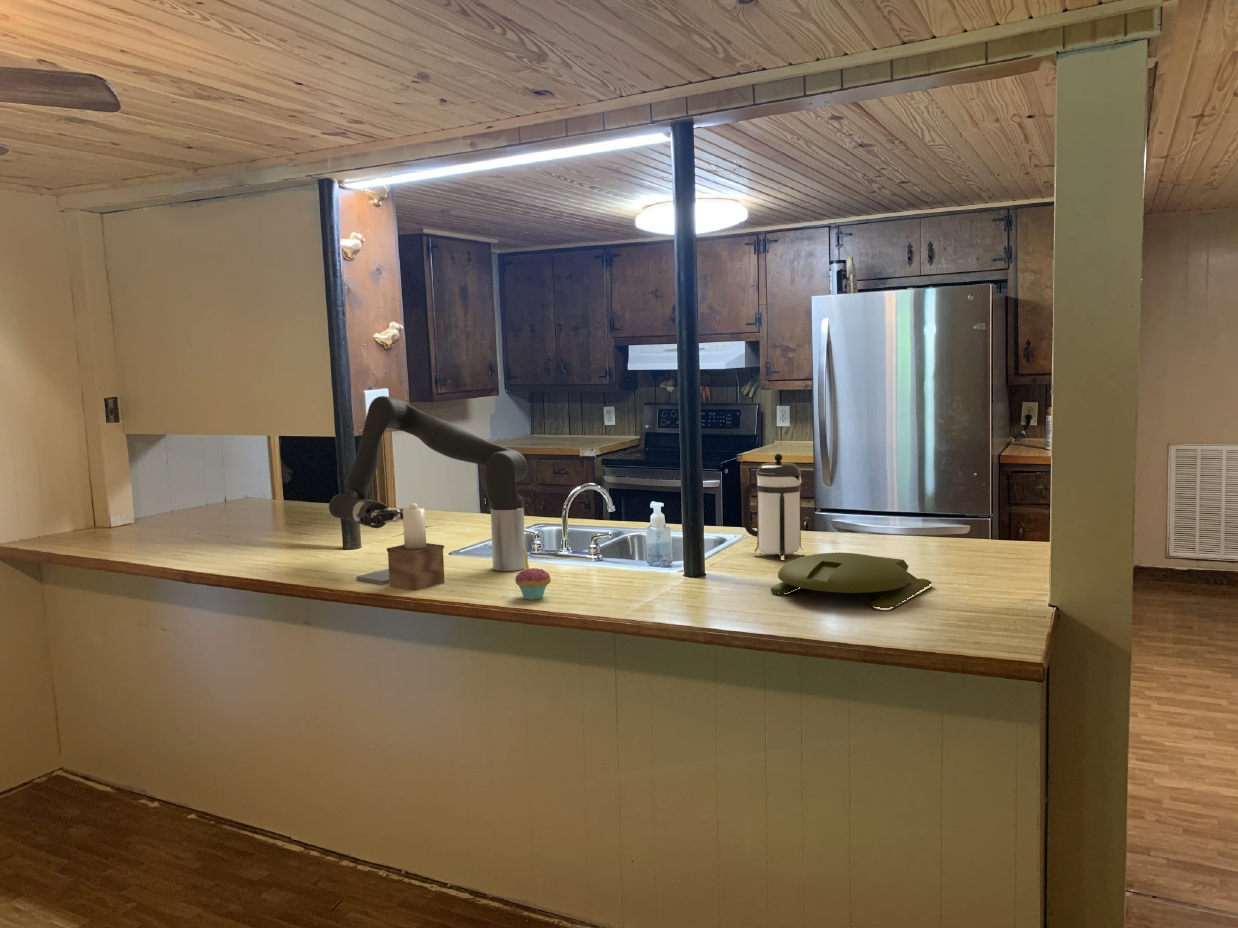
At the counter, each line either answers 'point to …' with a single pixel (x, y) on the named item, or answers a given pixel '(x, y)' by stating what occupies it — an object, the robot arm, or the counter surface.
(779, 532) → the coffee press
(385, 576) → the mat
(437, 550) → the wooden lidded box
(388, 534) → the counter surface
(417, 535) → the white pillar candle
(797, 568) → the spaceship
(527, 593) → the cupcake
